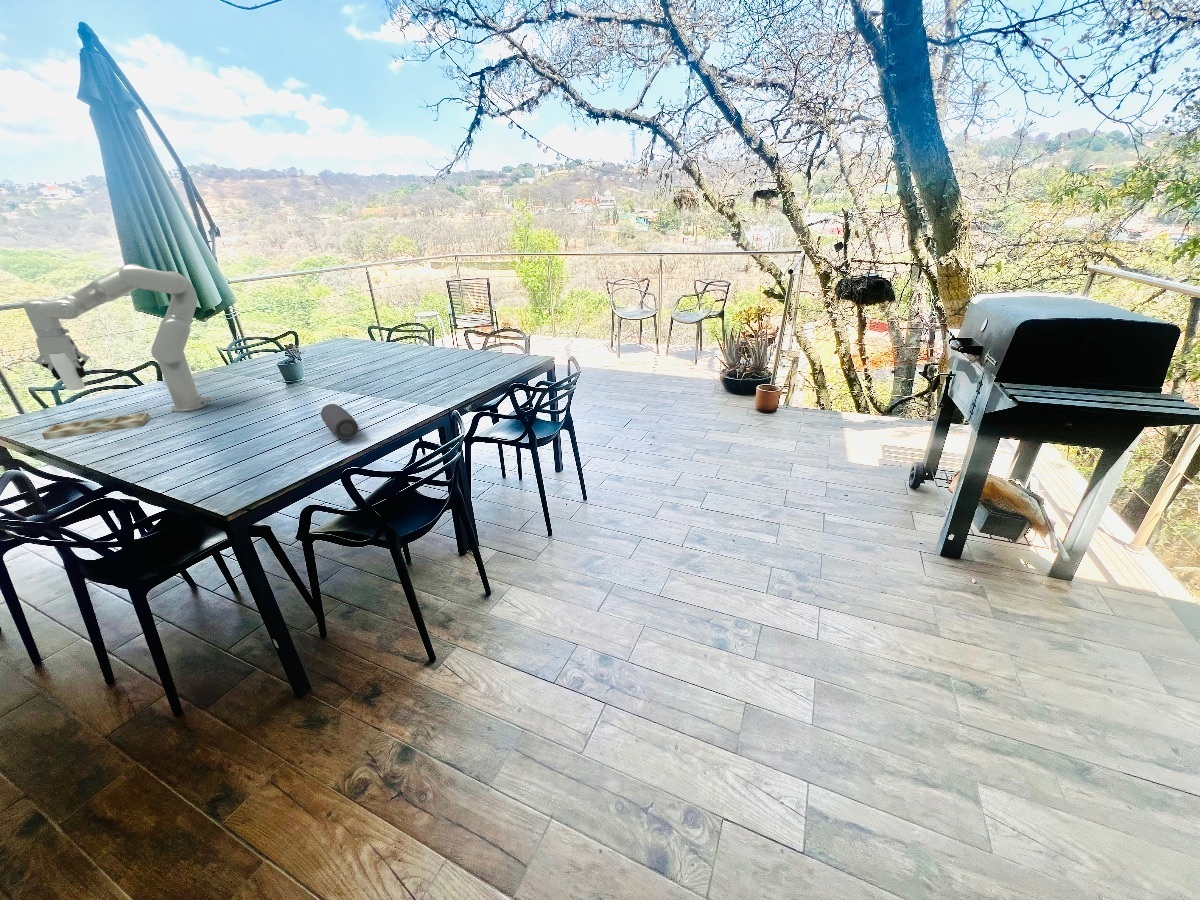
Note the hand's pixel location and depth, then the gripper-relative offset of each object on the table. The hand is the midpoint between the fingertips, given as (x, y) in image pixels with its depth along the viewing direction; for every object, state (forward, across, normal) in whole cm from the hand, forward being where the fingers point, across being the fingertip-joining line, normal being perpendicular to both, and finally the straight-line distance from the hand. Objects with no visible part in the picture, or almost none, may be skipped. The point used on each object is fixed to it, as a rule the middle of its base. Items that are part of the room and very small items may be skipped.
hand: (71, 377), depth 193 cm
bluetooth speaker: (+19, -94, +61) cm, 114 cm away
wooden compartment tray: (+20, -5, +9) cm, 22 cm away
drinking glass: (+5, 0, 0) cm, 5 cm away
